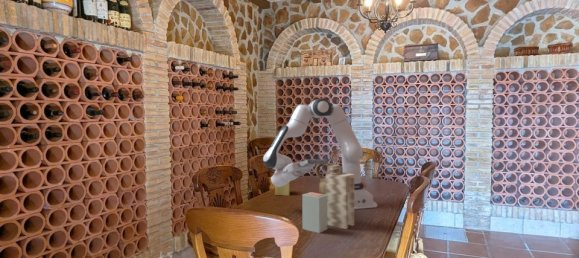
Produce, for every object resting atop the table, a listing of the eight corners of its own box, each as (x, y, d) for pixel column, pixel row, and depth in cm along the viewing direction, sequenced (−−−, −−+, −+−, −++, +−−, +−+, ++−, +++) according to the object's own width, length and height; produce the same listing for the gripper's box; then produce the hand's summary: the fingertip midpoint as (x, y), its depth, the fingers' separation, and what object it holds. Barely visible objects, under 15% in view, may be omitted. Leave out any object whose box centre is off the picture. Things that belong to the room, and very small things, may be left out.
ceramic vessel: (329, 205, 220) (330, 164, 219) (310, 199, 236) (310, 161, 234) (350, 200, 231) (351, 162, 230) (330, 195, 246) (330, 159, 245)
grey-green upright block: (302, 228, 176) (302, 194, 176) (310, 225, 182) (310, 191, 181) (319, 233, 170) (319, 197, 169) (327, 229, 176) (327, 194, 175)
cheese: (289, 192, 256) (289, 178, 256) (289, 195, 246) (289, 181, 245) (274, 192, 256) (274, 178, 256) (274, 196, 245) (274, 181, 245)
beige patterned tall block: (325, 224, 183) (325, 166, 182) (334, 220, 189) (334, 164, 188) (346, 229, 176) (346, 168, 174) (354, 225, 182) (354, 166, 180)
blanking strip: (303, 163, 194) (303, 160, 194) (306, 163, 196) (306, 159, 196) (324, 164, 185) (324, 160, 185) (328, 163, 187) (327, 159, 187)
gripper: (278, 168, 193) (296, 157, 185) (301, 163, 209) (318, 153, 201) (283, 179, 192) (301, 168, 184) (306, 173, 207) (323, 163, 199)
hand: (310, 160), depth 192 cm, fingers closed on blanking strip, 3 cm apart
